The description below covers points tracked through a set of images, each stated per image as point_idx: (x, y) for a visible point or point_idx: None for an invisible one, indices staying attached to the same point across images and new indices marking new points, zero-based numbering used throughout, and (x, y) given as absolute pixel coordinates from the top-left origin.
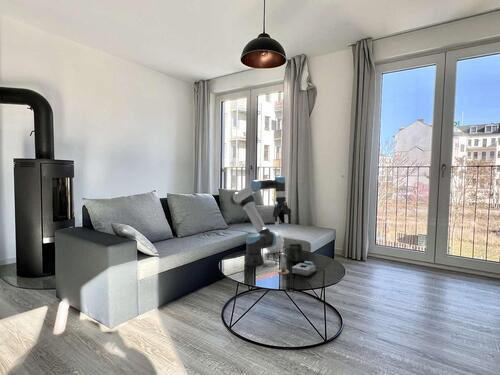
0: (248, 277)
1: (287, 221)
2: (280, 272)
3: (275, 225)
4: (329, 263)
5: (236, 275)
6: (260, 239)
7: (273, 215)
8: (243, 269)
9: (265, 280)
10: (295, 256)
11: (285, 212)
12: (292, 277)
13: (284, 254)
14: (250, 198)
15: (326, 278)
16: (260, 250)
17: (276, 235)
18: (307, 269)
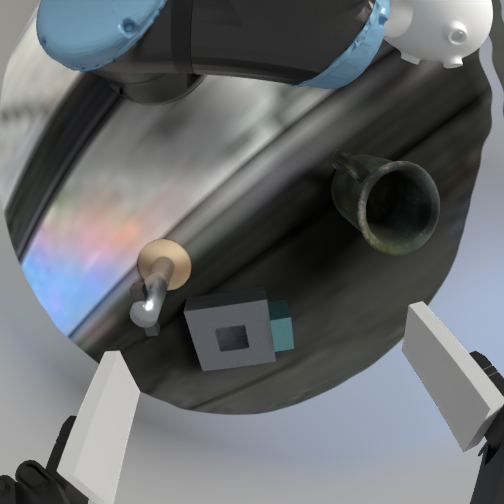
0: (25, 197)
1: (413, 364)
2: (144, 265)
3: (106, 360)
4: (383, 331)
5: (8, 142)
6: (133, 55)
7: (3, 500)
8: (63, 92)
9: (56, 271)
10: (344, 215)
11: (487, 476)
12: None
13: (146, 325)
14: None
15: (231, 399)
16: (152, 75)
17: (447, 15)
18: (210, 367)
